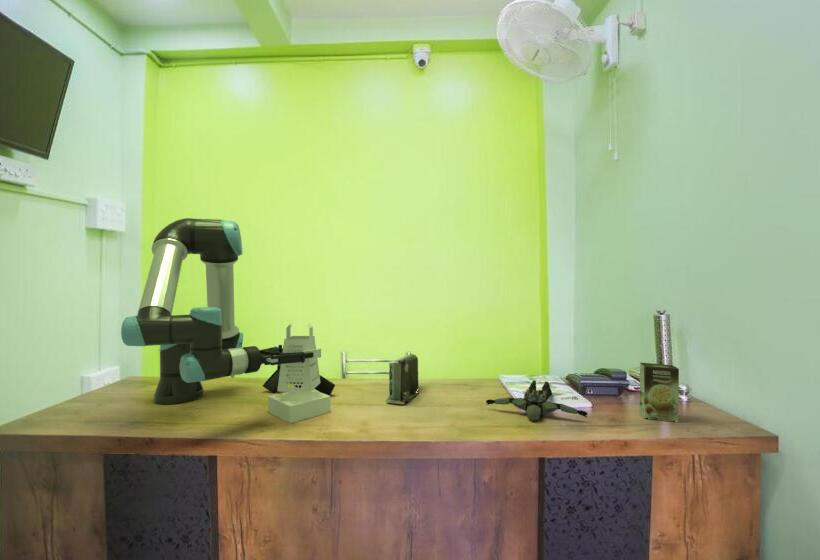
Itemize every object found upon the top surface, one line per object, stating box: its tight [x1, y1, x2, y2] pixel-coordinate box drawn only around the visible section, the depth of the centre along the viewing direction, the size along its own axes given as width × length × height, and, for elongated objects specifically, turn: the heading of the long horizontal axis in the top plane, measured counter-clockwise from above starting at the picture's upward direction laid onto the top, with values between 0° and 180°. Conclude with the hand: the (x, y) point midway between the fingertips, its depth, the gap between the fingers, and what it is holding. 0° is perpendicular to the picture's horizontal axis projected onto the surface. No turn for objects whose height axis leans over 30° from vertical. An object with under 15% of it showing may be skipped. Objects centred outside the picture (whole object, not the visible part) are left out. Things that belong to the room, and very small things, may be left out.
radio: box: [385, 353, 419, 405], centre depth 140 cm, size 23×9×15 cm, turn 156°
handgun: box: [262, 364, 336, 396], centre depth 142 cm, size 2×24×15 cm, turn 79°
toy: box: [485, 380, 588, 422], centre depth 128 cm, size 30×8×30 cm
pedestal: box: [267, 389, 332, 424], centre depth 123 cm, size 14×14×5 cm
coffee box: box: [638, 362, 680, 422], centre depth 118 cm, size 9×6×16 cm
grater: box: [277, 323, 320, 392], centre depth 123 cm, size 10×10×20 cm
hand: (310, 350), depth 126 cm, fingers closed on grater, 11 cm apart
